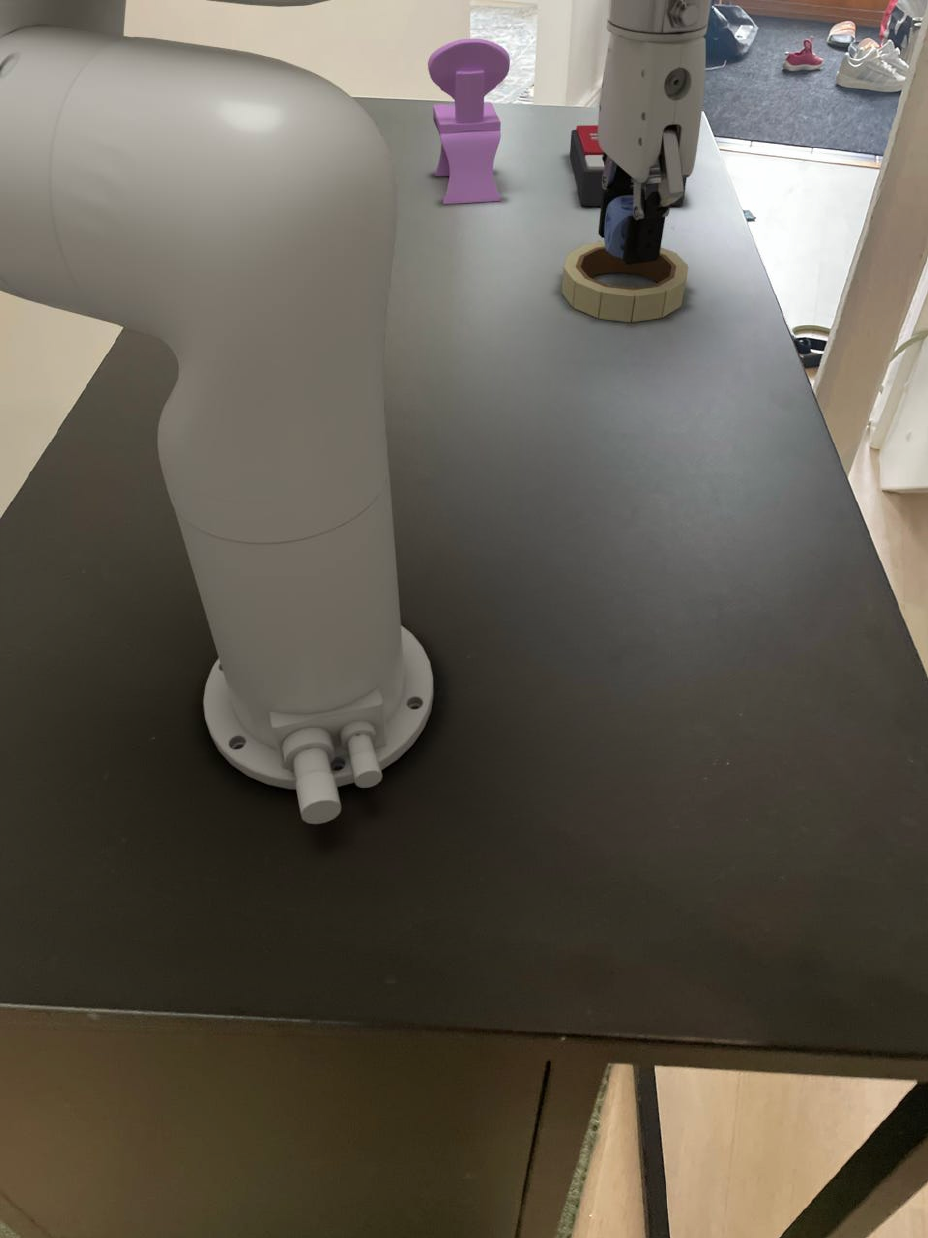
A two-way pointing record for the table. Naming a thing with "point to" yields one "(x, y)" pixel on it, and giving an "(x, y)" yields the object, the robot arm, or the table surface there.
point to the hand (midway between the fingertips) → (627, 245)
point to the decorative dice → (617, 224)
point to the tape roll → (618, 299)
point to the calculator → (596, 166)
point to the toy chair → (468, 117)
